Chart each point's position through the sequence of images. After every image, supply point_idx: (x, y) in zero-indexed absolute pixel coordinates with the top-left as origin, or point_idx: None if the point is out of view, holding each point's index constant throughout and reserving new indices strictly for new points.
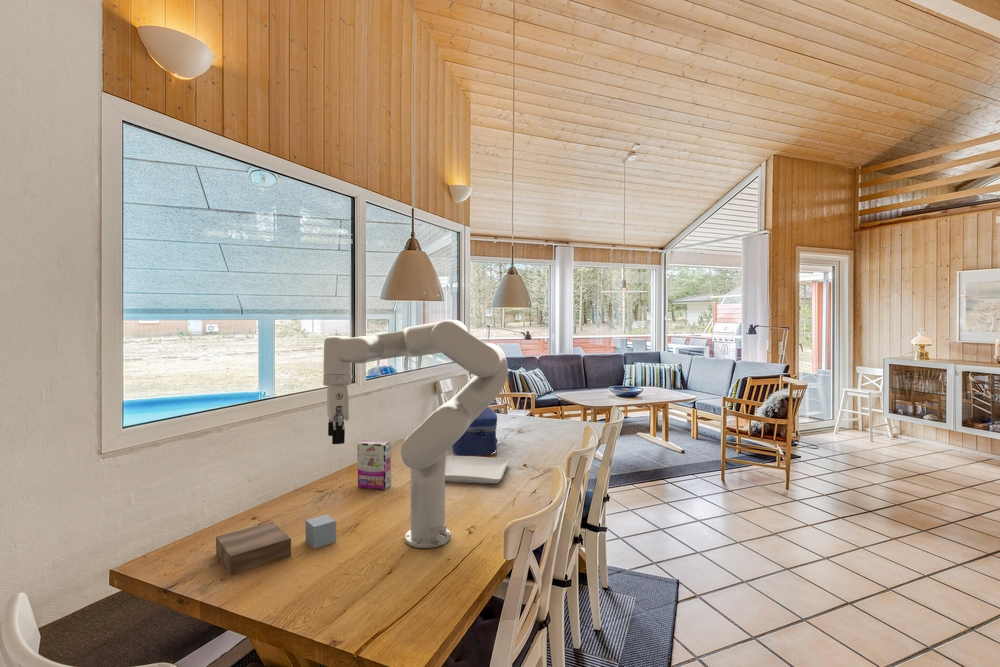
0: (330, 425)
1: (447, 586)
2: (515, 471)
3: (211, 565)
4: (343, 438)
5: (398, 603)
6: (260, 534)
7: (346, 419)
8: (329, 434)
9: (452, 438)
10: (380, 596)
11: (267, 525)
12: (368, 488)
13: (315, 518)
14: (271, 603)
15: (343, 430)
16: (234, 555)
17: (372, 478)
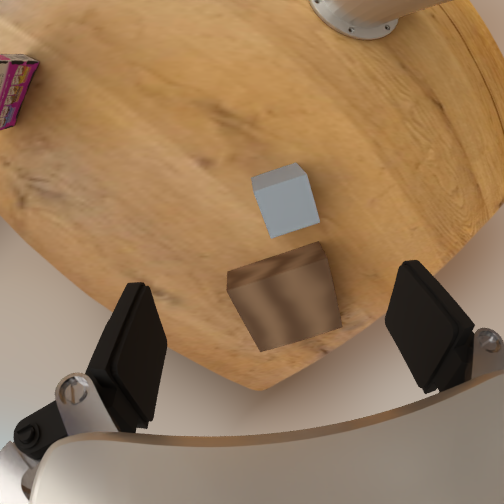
0: (152, 399)
1: (485, 63)
2: None
3: None
4: (430, 283)
5: (491, 129)
6: (282, 303)
7: (464, 393)
8: (165, 346)
9: None
10: (476, 141)
11: (243, 297)
12: (22, 101)
13: (271, 218)
14: (426, 258)
15: (464, 326)
16: (341, 323)
17: (11, 93)
